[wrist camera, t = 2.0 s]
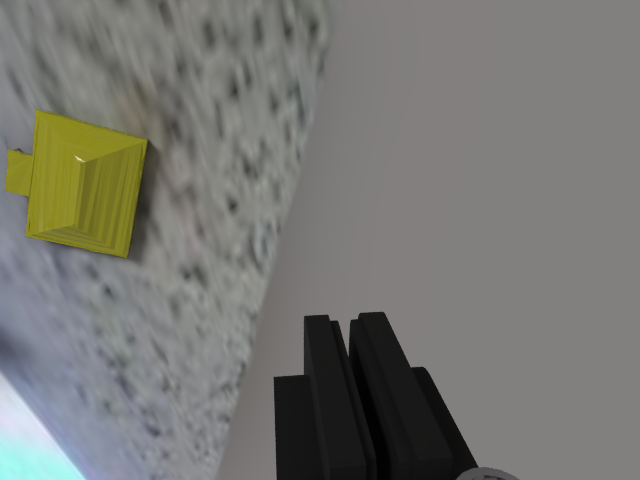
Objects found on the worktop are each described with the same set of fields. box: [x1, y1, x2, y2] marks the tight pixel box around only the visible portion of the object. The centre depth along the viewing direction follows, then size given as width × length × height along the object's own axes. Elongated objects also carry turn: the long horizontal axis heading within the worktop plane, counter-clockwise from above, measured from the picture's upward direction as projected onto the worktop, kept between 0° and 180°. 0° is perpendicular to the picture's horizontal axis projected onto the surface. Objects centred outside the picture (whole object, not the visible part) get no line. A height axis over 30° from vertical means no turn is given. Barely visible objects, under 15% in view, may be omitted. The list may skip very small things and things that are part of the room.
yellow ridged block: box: [5, 85, 151, 266], centre depth 24 cm, size 10×9×3 cm
